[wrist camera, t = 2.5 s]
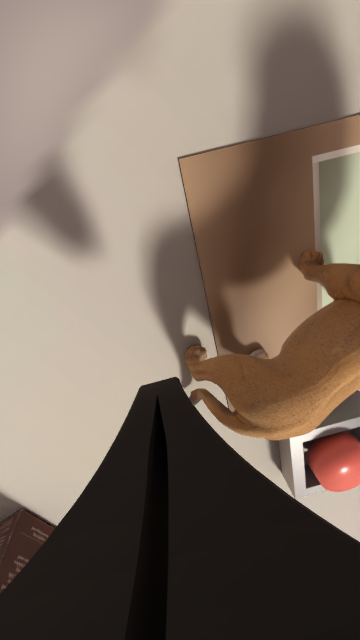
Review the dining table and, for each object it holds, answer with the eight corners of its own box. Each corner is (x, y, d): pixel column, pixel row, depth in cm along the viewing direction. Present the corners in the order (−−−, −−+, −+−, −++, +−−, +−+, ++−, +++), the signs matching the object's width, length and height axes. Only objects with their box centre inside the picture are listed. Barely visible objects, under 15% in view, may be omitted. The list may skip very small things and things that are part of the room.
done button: (357, 424, 17) (376, 442, 16) (356, 463, 19) (373, 482, 17) (304, 439, 17) (318, 458, 16) (307, 476, 19) (320, 497, 17)
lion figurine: (352, 168, 13) (719, 85, 5) (404, 242, 15) (741, 278, 6) (158, 375, 16) (171, 550, 8) (220, 417, 18) (287, 597, 9)
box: (-38, 544, 19) (-137, 722, 13) (24, 504, 19) (-46, 669, 12) (27, 577, 22) (-28, 744, 15) (85, 542, 21) (55, 700, 14)
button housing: (358, 390, 18) (382, 410, 17) (356, 453, 21) (377, 476, 19) (274, 413, 18) (289, 436, 16) (282, 473, 20) (295, 499, 19)
